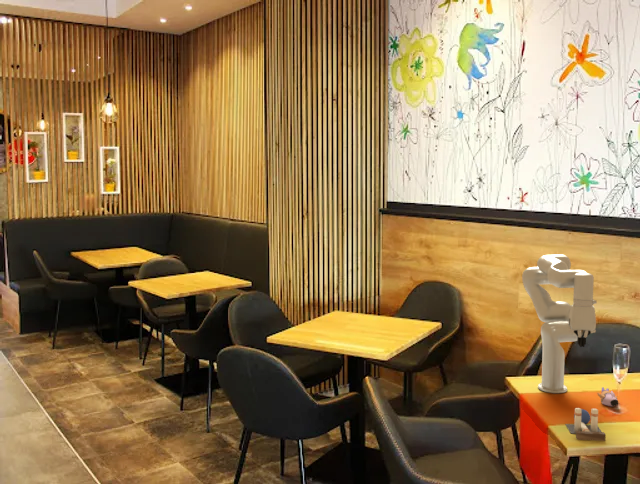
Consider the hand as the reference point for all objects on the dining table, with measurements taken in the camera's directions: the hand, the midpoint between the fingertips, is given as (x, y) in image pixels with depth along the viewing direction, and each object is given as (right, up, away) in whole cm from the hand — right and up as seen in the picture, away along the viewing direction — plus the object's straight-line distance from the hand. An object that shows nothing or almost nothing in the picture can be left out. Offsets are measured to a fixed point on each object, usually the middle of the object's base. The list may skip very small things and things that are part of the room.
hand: (581, 346), depth 271 cm
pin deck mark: (-7, -29, -19) cm, 36 cm away
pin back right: (-10, -30, -21) cm, 38 cm away
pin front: (-7, -28, -18) cm, 34 cm away
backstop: (-8, -30, -28) cm, 42 cm away
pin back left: (-4, -30, -22) cm, 37 cm away
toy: (+15, -26, +8) cm, 31 cm away
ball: (-5, -26, -14) cm, 30 cm away
